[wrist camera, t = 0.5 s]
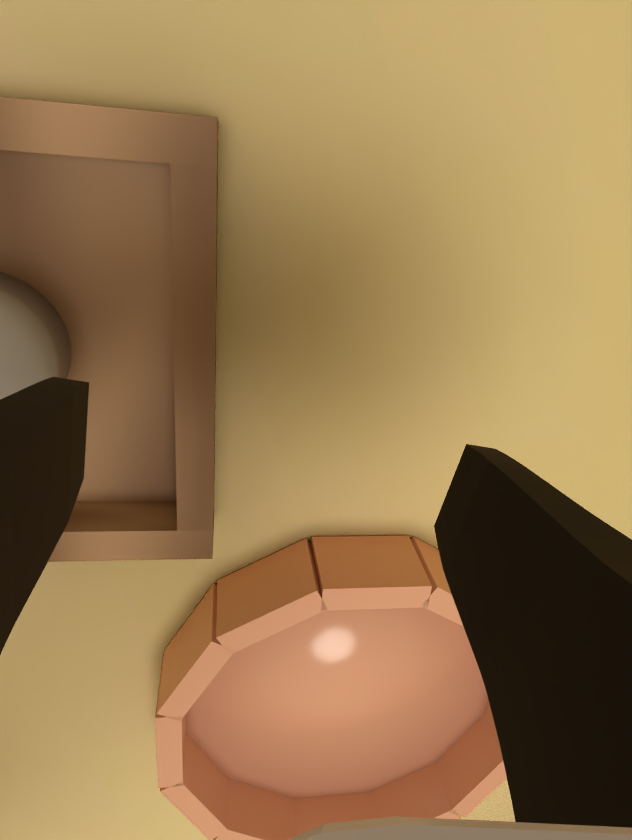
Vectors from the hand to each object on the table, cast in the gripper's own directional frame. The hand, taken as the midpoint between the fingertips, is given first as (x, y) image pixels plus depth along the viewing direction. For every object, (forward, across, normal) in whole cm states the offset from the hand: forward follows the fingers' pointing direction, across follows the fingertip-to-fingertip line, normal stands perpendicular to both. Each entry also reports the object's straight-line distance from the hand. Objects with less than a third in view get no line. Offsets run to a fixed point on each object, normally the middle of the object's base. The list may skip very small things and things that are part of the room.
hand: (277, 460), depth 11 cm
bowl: (+9, -6, +17) cm, 20 cm away
